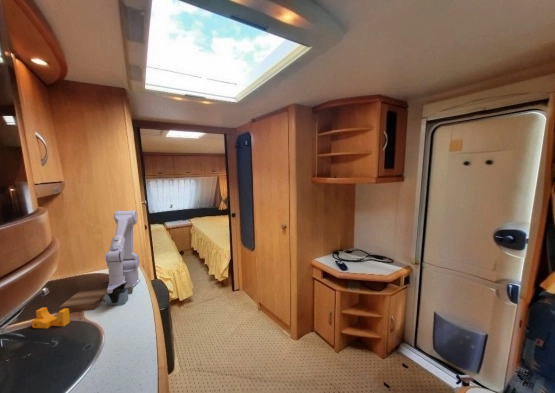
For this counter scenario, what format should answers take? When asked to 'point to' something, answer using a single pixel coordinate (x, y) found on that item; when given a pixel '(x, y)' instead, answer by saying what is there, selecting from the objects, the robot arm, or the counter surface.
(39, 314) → the pipe clamp
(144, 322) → the counter surface
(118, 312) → the counter surface
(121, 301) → the block
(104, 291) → the walnut stand
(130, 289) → the grey rubber block
